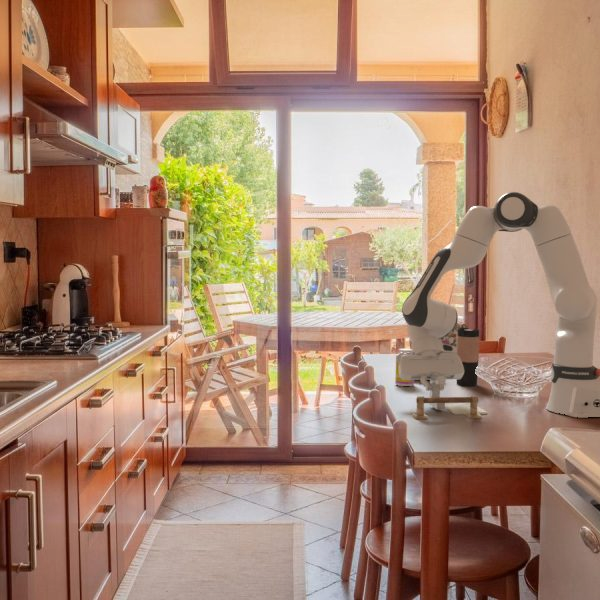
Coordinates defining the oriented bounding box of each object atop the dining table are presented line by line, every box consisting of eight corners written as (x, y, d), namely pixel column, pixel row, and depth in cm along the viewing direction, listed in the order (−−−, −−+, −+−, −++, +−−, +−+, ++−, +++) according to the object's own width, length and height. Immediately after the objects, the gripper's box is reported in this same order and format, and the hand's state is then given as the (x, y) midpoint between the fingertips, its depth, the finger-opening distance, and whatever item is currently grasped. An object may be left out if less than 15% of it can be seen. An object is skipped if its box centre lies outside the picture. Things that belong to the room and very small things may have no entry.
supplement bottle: (413, 387, 254) (414, 351, 253) (394, 386, 256) (395, 350, 255) (414, 384, 261) (415, 348, 260) (395, 383, 262) (396, 347, 261)
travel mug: (462, 387, 256) (464, 330, 255) (452, 383, 264) (453, 328, 262) (481, 386, 258) (483, 330, 257) (471, 382, 266) (472, 327, 264)
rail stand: (477, 415, 214) (477, 395, 214) (481, 418, 211) (482, 397, 210) (412, 416, 212) (412, 395, 211) (415, 419, 208) (416, 398, 208)
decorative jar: (467, 357, 323) (469, 317, 322) (458, 361, 313) (459, 319, 312) (442, 355, 330) (443, 315, 328) (432, 358, 320) (433, 317, 318)
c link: (436, 403, 224) (437, 371, 224) (444, 409, 217) (445, 376, 216) (429, 404, 224) (430, 371, 223) (436, 409, 217) (437, 376, 216)
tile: (475, 406, 226) (475, 404, 226) (487, 414, 216) (487, 412, 216) (443, 406, 224) (443, 405, 224) (454, 414, 215) (454, 412, 215)
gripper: (396, 346, 227) (404, 384, 218) (460, 346, 230) (470, 383, 221) (393, 358, 232) (400, 395, 223) (455, 358, 235) (464, 394, 226)
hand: (435, 389), depth 222 cm, fingers closed on c link, 2 cm apart
